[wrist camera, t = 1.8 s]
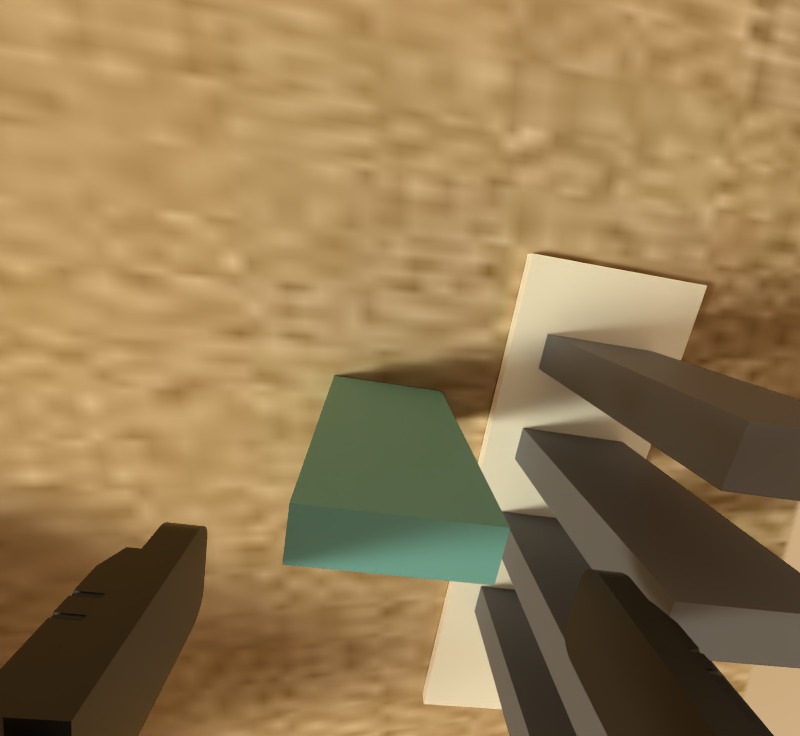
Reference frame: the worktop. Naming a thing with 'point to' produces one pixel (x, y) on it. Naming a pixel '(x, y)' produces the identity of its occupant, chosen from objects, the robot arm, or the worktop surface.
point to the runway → (550, 420)
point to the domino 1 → (393, 490)
